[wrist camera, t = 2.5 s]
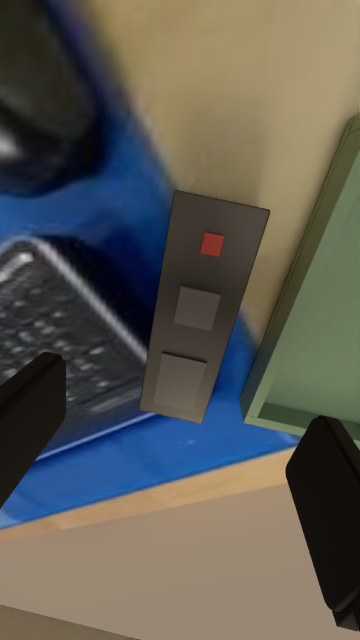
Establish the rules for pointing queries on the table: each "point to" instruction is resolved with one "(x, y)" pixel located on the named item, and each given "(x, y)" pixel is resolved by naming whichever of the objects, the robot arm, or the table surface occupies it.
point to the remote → (198, 300)
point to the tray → (316, 316)
